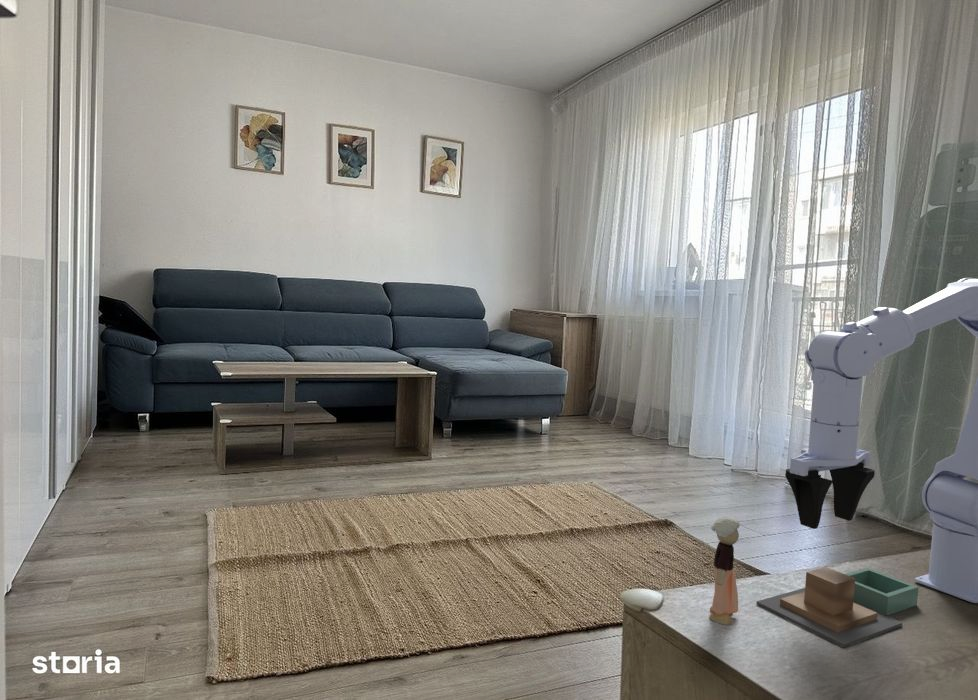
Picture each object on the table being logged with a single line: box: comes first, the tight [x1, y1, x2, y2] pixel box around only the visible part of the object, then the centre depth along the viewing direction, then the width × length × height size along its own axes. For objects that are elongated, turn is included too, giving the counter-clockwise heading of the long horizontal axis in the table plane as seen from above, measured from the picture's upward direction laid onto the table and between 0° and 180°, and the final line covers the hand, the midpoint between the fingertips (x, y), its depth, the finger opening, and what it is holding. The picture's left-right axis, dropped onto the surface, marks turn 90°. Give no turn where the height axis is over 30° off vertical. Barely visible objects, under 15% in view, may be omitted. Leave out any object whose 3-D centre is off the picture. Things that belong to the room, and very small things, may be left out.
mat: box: [755, 587, 903, 648], centre depth 86 cm, size 12×12×1 cm
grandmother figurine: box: [708, 515, 741, 626], centre depth 84 cm, size 8×4×13 cm, turn 168°
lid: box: [780, 566, 879, 632], centre depth 86 cm, size 8×8×5 cm
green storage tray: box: [844, 567, 919, 616], centre depth 91 cm, size 7×7×2 cm
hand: (826, 522), depth 91 cm, fingers open, 7 cm apart
